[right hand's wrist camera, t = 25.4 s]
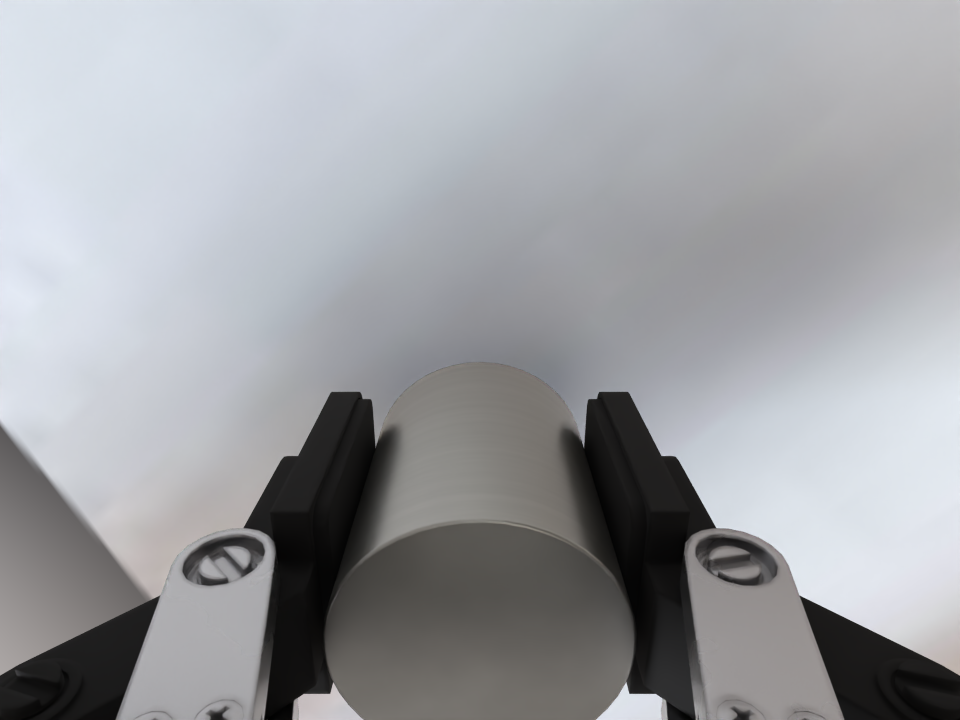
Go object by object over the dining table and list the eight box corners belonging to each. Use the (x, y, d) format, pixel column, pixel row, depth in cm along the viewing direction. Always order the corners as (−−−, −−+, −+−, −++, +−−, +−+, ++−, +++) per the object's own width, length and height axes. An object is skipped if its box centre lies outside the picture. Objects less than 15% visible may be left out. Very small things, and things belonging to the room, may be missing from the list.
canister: (443, 565, 14) (425, 795, 9) (339, 420, 13) (257, 603, 8) (614, 487, 13) (685, 696, 8) (522, 324, 12) (549, 466, 7)
